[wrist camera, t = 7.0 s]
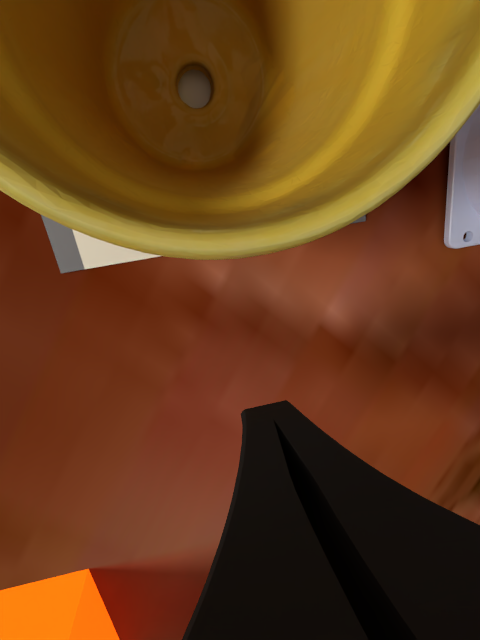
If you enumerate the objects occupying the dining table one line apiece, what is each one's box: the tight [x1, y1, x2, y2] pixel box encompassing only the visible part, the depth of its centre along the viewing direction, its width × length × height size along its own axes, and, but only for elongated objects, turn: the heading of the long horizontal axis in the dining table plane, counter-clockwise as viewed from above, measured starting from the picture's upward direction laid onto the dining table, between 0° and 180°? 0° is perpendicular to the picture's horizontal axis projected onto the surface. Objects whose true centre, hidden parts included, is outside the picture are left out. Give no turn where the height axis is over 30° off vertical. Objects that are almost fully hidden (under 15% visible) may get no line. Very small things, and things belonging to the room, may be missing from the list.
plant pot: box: [0, 0, 480, 260], centre depth 8 cm, size 10×10×10 cm
